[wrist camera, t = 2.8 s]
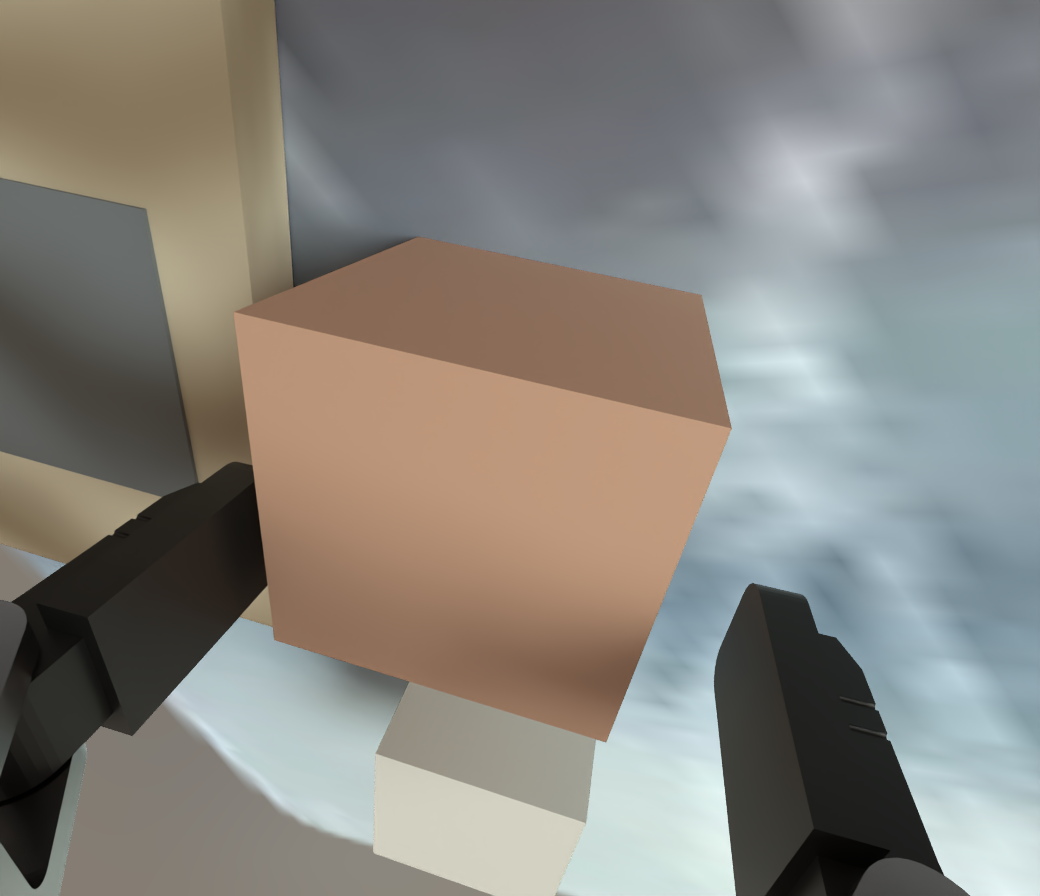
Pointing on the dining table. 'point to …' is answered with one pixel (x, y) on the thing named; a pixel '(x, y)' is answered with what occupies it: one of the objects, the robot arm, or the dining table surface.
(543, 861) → the white cube
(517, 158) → the dining table surface
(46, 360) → the beige rectangular frame
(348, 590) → the terracotta cube
